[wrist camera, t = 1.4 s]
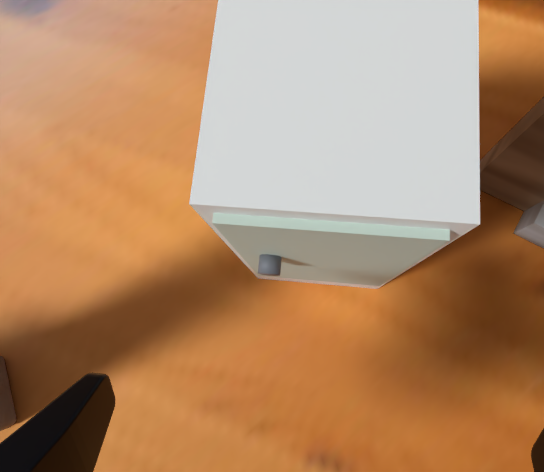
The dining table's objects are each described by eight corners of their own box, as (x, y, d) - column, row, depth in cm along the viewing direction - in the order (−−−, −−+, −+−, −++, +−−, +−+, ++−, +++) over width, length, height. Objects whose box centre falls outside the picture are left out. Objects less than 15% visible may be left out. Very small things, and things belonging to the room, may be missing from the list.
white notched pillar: (376, 304, 21) (480, 263, 8) (256, 294, 22) (183, 240, 9) (381, 182, 22) (478, -13, 10) (268, 175, 23) (220, -17, 10)
